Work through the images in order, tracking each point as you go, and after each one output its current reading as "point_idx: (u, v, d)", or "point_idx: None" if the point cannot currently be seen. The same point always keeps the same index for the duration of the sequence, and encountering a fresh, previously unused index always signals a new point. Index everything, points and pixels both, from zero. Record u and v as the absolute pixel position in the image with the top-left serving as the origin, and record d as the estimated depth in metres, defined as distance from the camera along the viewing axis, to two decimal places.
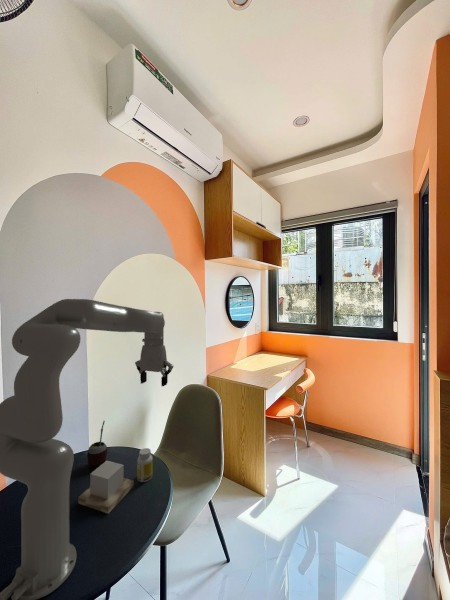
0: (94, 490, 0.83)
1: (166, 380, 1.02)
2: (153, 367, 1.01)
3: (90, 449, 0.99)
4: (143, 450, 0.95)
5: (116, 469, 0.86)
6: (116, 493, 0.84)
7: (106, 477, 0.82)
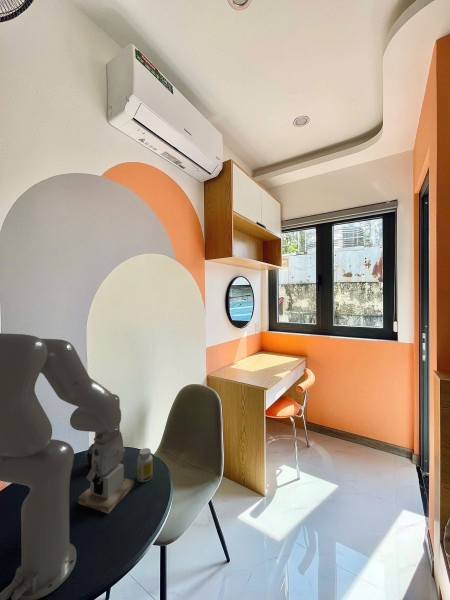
0: None
1: None
2: (117, 459, 0.87)
3: (90, 449, 0.99)
4: (143, 450, 0.95)
5: (116, 469, 0.86)
6: (116, 493, 0.84)
7: (106, 477, 0.82)
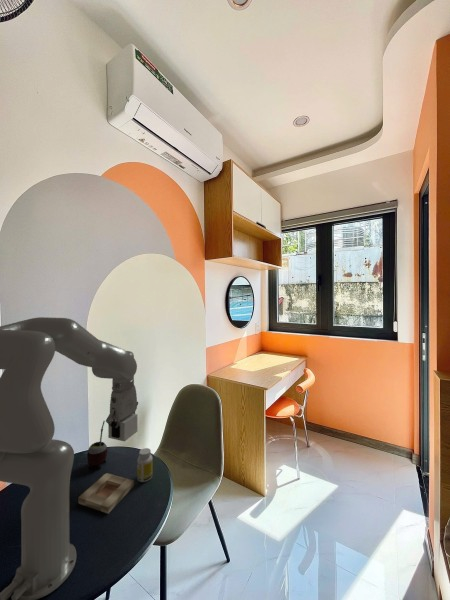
0: None
1: None
2: (132, 408, 0.97)
3: (90, 449, 0.99)
4: (143, 450, 0.95)
5: (131, 417, 0.96)
6: (116, 493, 0.84)
7: (123, 422, 0.92)
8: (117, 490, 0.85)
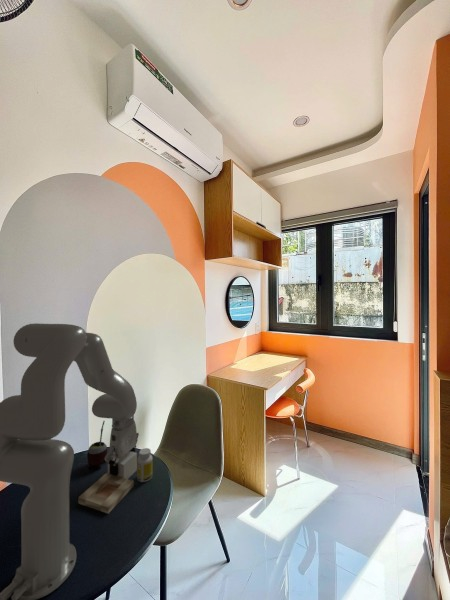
0: None
1: None
2: (132, 444, 0.97)
3: (90, 449, 0.99)
4: (143, 450, 0.95)
5: (130, 456, 0.96)
6: (116, 493, 0.84)
7: (122, 463, 0.92)
8: (117, 490, 0.85)
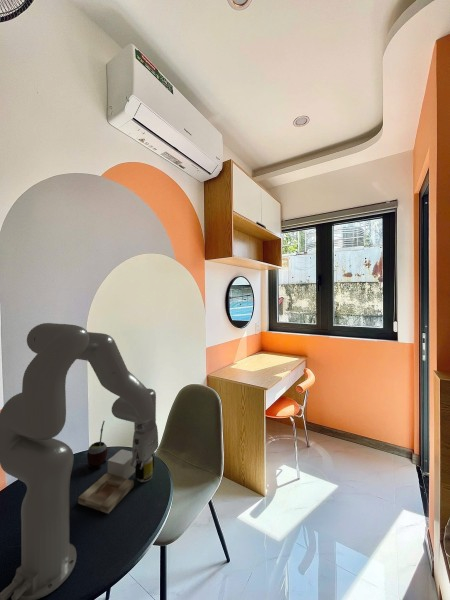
0: None
1: None
2: (154, 448, 0.95)
3: (90, 449, 0.99)
4: None
5: (130, 456, 0.96)
6: (116, 493, 0.84)
7: (122, 463, 0.92)
8: (117, 490, 0.85)
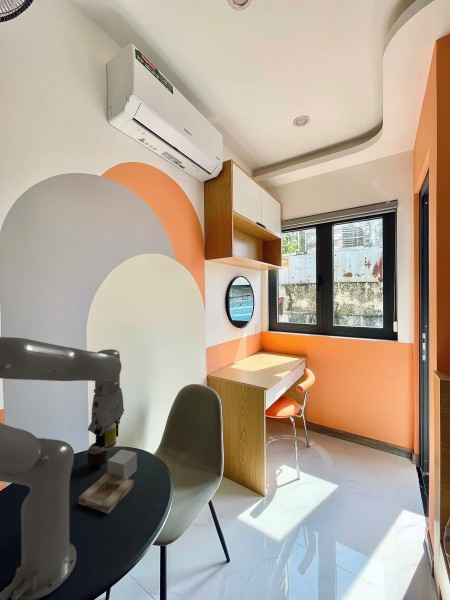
0: None
1: None
2: (117, 414, 0.86)
3: (90, 449, 0.99)
4: None
5: (130, 456, 0.96)
6: (116, 493, 0.84)
7: (122, 463, 0.92)
8: (117, 490, 0.85)
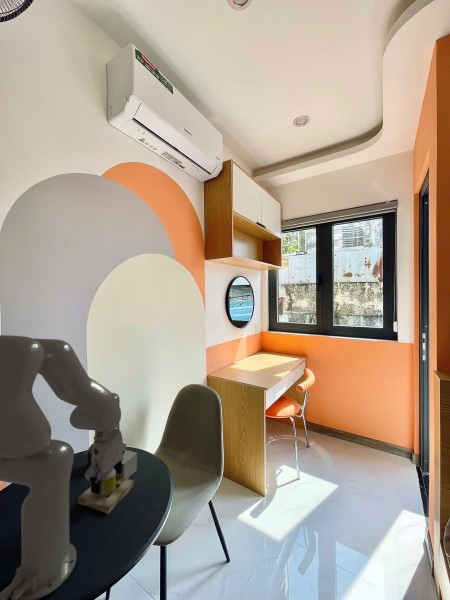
0: None
1: None
2: (117, 458, 0.87)
3: (90, 449, 0.99)
4: None
5: (131, 456, 0.96)
6: (116, 493, 0.84)
7: (122, 462, 0.92)
8: (117, 490, 0.85)
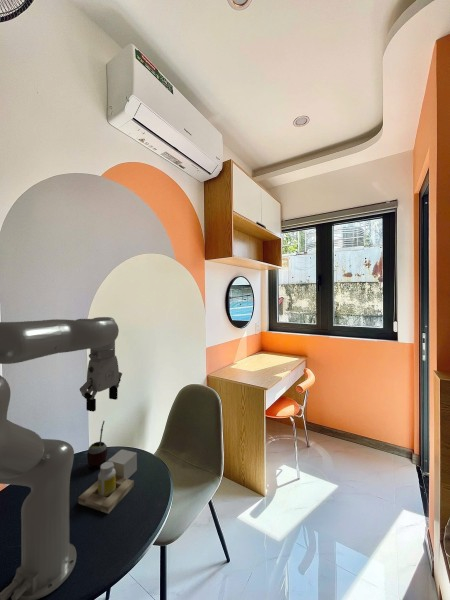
0: None
1: None
2: (113, 381, 0.87)
3: (90, 449, 0.99)
4: (105, 464, 0.86)
5: (130, 456, 0.96)
6: (116, 493, 0.84)
7: (122, 463, 0.92)
8: (117, 490, 0.85)
